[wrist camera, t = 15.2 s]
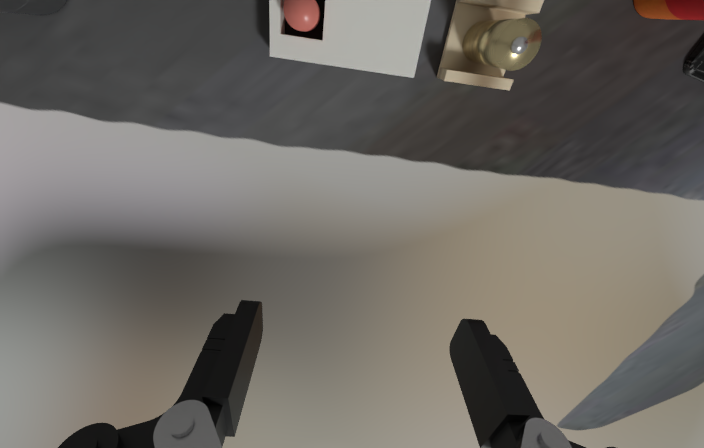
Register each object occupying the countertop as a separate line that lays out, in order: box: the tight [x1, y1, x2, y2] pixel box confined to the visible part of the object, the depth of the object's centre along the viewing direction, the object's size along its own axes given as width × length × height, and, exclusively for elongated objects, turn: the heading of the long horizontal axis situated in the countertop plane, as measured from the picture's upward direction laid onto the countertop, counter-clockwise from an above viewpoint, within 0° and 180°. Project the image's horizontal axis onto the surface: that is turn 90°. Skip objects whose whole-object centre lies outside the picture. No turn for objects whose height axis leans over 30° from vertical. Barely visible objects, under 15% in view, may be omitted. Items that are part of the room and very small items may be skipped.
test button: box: [283, 0, 321, 32], centre depth 28 cm, size 3×3×4 cm
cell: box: [462, 18, 541, 71], centre depth 27 cm, size 4×4×8 cm
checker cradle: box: [269, 0, 431, 78], centre depth 29 cm, size 14×8×3 cm, turn 82°
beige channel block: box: [437, 0, 544, 90], centre depth 30 cm, size 7×8×3 cm
